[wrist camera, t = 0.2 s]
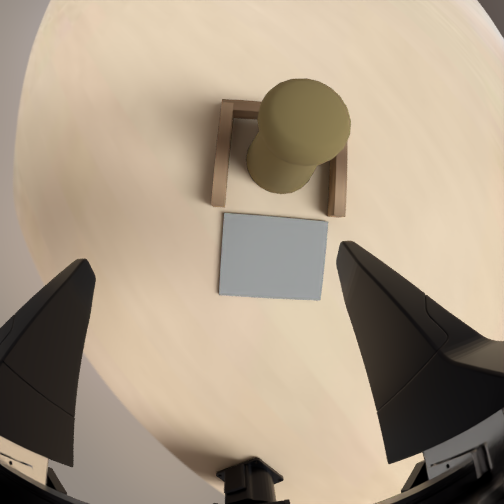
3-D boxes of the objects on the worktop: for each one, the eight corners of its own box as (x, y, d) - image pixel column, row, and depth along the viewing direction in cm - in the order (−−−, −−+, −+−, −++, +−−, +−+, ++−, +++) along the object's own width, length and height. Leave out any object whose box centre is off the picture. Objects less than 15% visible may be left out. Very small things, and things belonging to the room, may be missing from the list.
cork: (232, 166, 23) (225, 116, 12) (272, 117, 22) (294, 46, 11) (288, 208, 23) (329, 191, 12) (326, 156, 23) (383, 110, 12)
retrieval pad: (319, 299, 24) (320, 300, 24) (219, 294, 24) (219, 294, 23) (327, 221, 23) (328, 221, 23) (224, 213, 23) (224, 212, 23)
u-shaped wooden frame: (337, 217, 23) (345, 216, 22) (213, 206, 23) (210, 204, 21) (340, 122, 23) (346, 115, 21) (223, 107, 22) (222, 99, 20)
